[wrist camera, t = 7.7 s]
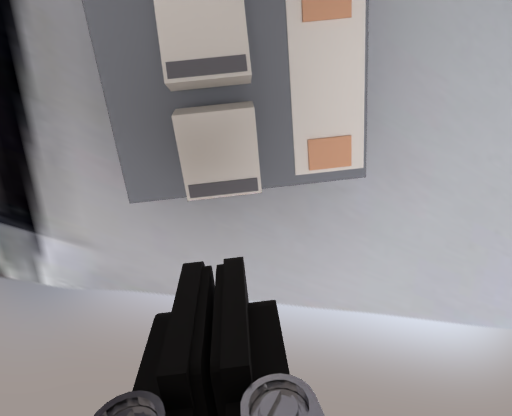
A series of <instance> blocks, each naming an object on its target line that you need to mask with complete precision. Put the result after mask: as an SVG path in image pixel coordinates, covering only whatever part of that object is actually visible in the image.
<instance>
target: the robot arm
mask: <svg viewBox="0 0 512 416" xmlns="http://www.w3.org/2000/svg"><path fill="white" fill-rule="evenodd" d="M94 416H324V413H323V411H322V409H321V407H320V404H319V402H318V400H317V397H316V395H315V393H314V392H313V391H312V389H311V387H310V386H309V385H308V384H307V383H305V382H304V381H303V380H302V379H300V378H297V377H295V376H293V375H290V374H289V368H288V363H287V359H286V353H285V348H284V343H283V337H282V331H281V327H280V321H279V316H278V310H277V305H276V301H275V300H270V301H261V302H253V303H249V301H248V293H247V284H246V276H245V268H244V260H243V257H237V258H228V259H224V264H221V265H217V268H216V282H215V284H214V277H213V271H212V267H211V266H205V265H204V262H203V261H202V262H193V263H185V264H183V266H182V271H181V275H180V279H179V283H178V287H177V291H176V295H175V300H174V304H173V308H172V312H168V313H159V314H157V315H156V316H155V318H154V321H153V324H152V328H151V331H150V334H149V337H148V341H147V344H146V347H145V351H144V354H143V357H142V361H141V364H140V367H139V371H138V374H137V377H136V381H135V384H134V387H133V391H132V392H128V393H125V394H122V395H119V396H117V397H115V398H114V399H112V400H110V401H109V402H107V403H106V404H105V405H104V406H103V407H102V408H101V409H99V410H98V411H97V412H96V413H95V415H94Z"/></svg>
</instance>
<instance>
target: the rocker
mask: <svg viewBox="0 0 512 416" xmlns="http://www.w3.org/2000/svg"><path fill="white" fill-rule="evenodd" d="M171 117H172V122H173V127H174V133H175V138H176V143H177V148H178V153H179V159H180V164H181V169H182V174H183V180H184V185H185V190H186V195H187V200H188V201H193V200H202V199H211V198H220V197H229V196H238V195H247V194H256V193H262V188H261V176H260V165H259V153H258V142H257V130H256V119H255V108H254V105H253V102H252V101H246V102H236V103H227V104H217V105H208V106H198V107H188V108H179V109H175V110H174V112H173V114H172V116H171Z"/></svg>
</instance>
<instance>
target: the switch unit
mask: <svg viewBox="0 0 512 416" xmlns="http://www.w3.org/2000/svg"><path fill="white" fill-rule="evenodd" d="M82 3H83V7H84V12H85V16H86V20H87V24H88V29H89V33H90V37H91V41H92V46H93V50H94V54H95V58H96V63H97V67H98V71H99V75H100V80H101V84H102V88H103V92H104V97H105V101H106V105H107V109H108V114H109V118H110V122H111V126H112V131H113V135H114V139H115V143H116V148H117V152H118V156H119V160H120V165H121V169H122V173H123V177H124V182H125V186H126V190H127V194H128V199H129V203H139V202H148V201H157V200H166V199H175V198H184V197H187V195H186V190H185V185H184V180H183V174H182V169H181V164H180V159H179V153H178V148H177V143H176V138H175V133H174V127H173V122H172V117H171V116H172V114H173V112H174V110H175V109H179V108H188V107H198V106H208V105H217V104H227V103H236V102H246V101H252V102H253V105H254V108H255V119H256V130H257V142H258V153H259V165H260V176H261V188H262V189H264V188H273V187H282V186H291V185H300V184H309V183H318V182H327V181H336V180H345V179H354V178H363V177H366V131H367V67H368V3H369V0H244V6H245V15H246V25H247V34H248V43H249V53H250V62H251V71H252V78H251V83H249V84H239V85H229V86H219V87H210V88H200V89H190V90H180V91H170V89H169V88H168V87H167V86H166V85H165V84H164V77H163V69H162V62H161V54H160V46H159V39H158V31H157V24H156V16H155V9H154V1H153V0H82Z"/></svg>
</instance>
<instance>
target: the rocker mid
mask: <svg viewBox="0 0 512 416" xmlns="http://www.w3.org/2000/svg"><path fill="white" fill-rule="evenodd" d="M153 1H154V9H155V16H156V24H157V31H158V39H159V46H160V54H161V62H162V69H163V77H164V84H165V85H166V86H167V87H168V88H169V89H170V91H180V90H190V89H200V88H210V87H219V86H229V85H239V84H249V83H251V78H252V71H251V62H250V53H249V43H248V34H247V25H246V15H245V6H244V0H153Z"/></svg>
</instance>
